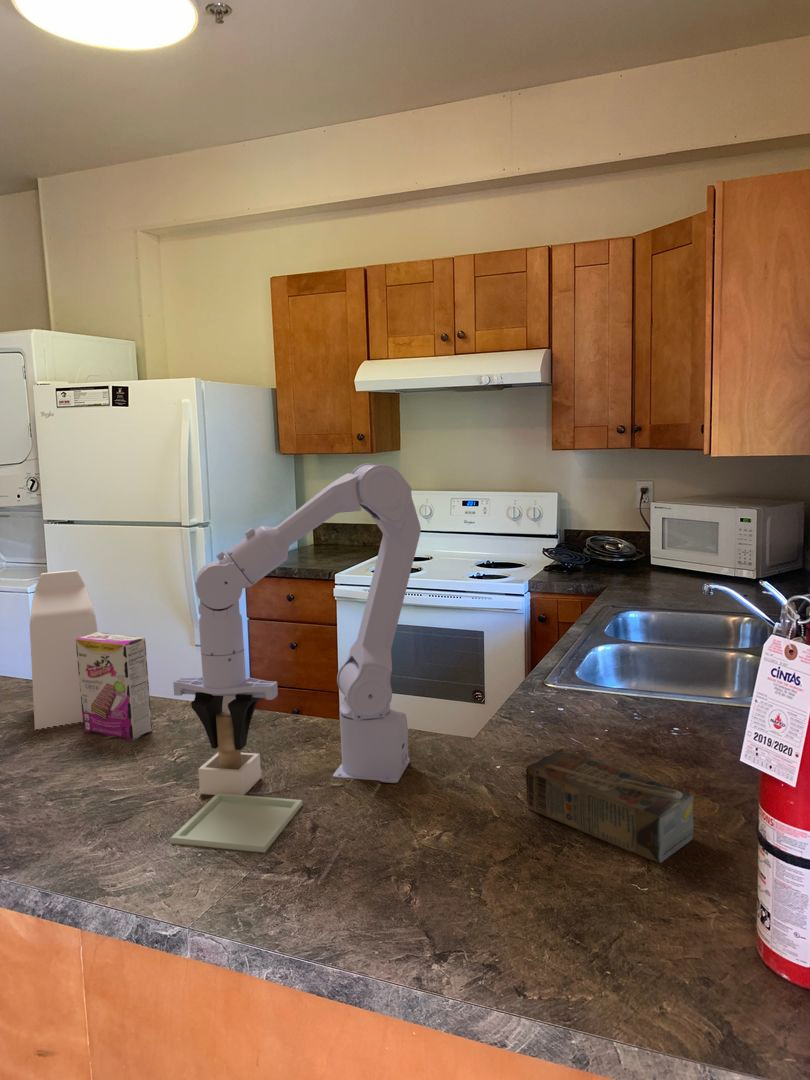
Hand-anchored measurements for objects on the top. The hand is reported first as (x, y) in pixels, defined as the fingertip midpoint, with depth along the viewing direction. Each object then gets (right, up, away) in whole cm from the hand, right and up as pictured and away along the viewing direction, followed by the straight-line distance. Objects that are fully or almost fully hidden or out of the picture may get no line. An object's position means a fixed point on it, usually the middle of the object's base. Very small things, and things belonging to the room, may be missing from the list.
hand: (229, 746), depth 109 cm
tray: (+4, -7, -10) cm, 13 cm away
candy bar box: (-24, -4, +24) cm, 34 cm away
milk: (-36, -3, +34) cm, 50 cm away
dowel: (0, -4, +1) cm, 4 cm away
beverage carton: (+49, -7, -12) cm, 51 cm away
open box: (0, -6, +1) cm, 6 cm away
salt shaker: (-6, -3, +30) cm, 31 cm away
